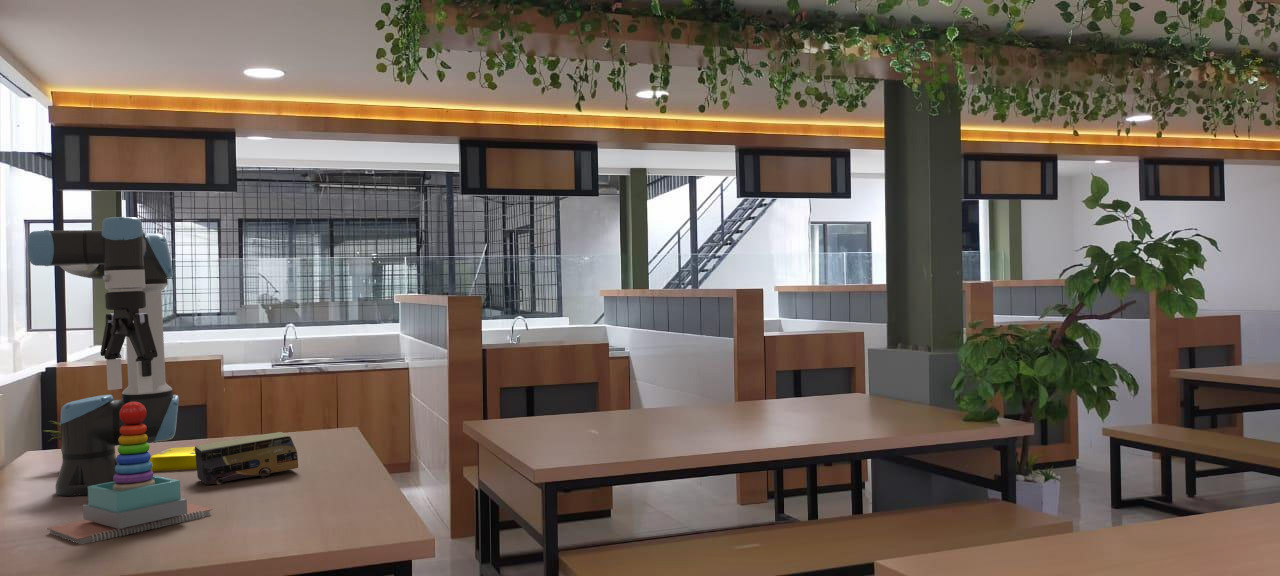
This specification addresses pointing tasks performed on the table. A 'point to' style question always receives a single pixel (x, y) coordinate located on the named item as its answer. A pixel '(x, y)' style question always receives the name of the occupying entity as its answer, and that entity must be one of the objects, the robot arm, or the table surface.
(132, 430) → the stacking toy
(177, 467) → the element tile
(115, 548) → the table surface
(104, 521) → the brick base
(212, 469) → the toy bus
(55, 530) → the notebook
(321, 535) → the table surface
